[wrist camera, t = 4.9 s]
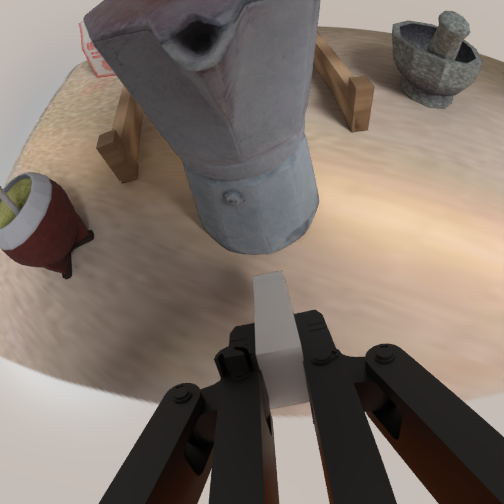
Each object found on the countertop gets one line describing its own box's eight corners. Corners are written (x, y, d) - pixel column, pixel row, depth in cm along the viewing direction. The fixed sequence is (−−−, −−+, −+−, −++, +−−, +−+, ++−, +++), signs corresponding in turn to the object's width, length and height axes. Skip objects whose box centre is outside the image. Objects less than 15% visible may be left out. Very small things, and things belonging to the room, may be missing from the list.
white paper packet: (111, 64, 40) (87, 16, 31) (142, 60, 38) (119, 7, 29) (97, 77, 39) (71, 29, 30) (128, 74, 37) (102, 19, 28)
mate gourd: (41, 232, 26) (-59, 139, 13) (103, 199, 27) (8, 78, 13) (41, 299, 23) (-90, 216, 10) (110, 269, 23) (-26, 147, 10)
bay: (367, 130, 26) (374, 86, 21) (122, 183, 27) (96, 148, 22) (312, 45, 33) (311, 12, 29) (138, 84, 35) (124, 55, 30)
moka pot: (208, 311, 21) (-34, 26, 3) (186, 148, 28) (101, -53, 10) (349, 276, 20) (422, -88, 2) (288, 122, 27) (258, -94, 9)
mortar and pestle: (386, 61, 30) (394, -24, 20) (457, 80, 28) (477, 0, 17) (385, 114, 26) (401, 3, 16) (472, 139, 24) (510, 41, 13)
